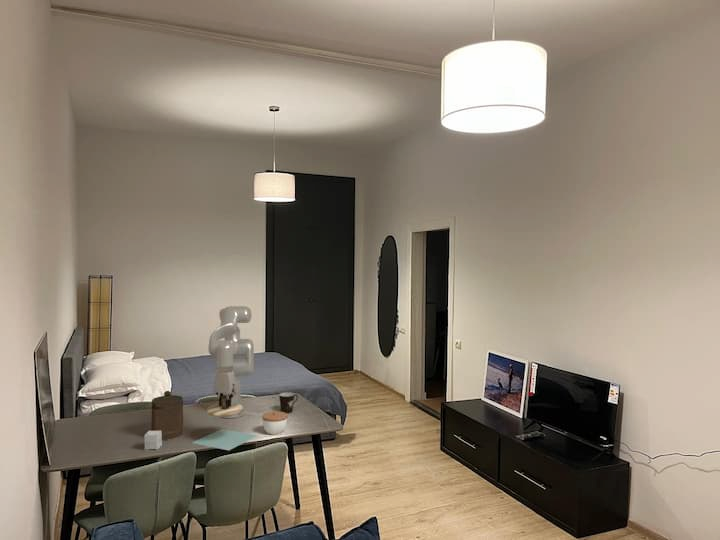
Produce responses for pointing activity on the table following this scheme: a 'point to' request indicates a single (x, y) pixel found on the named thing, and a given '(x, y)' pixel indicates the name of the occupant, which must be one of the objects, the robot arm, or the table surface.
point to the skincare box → (153, 439)
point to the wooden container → (168, 415)
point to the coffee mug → (287, 402)
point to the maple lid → (224, 408)
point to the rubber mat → (224, 439)
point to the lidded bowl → (274, 422)
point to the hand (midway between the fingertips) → (225, 406)
